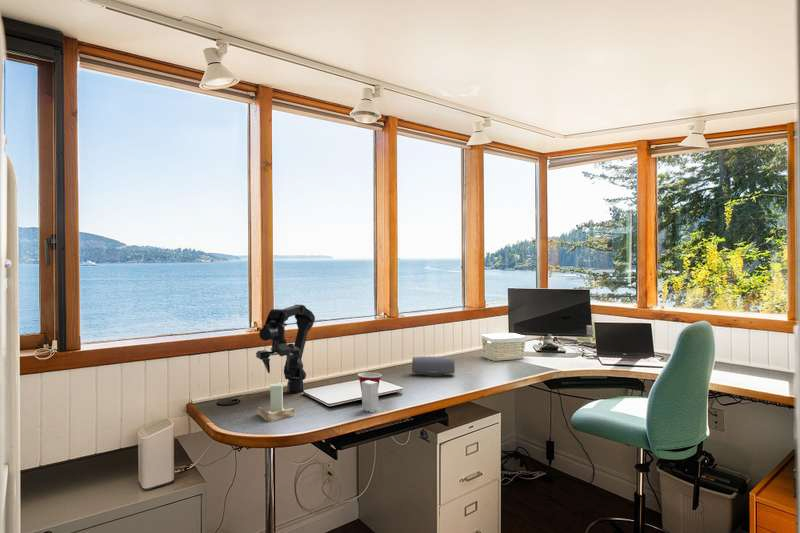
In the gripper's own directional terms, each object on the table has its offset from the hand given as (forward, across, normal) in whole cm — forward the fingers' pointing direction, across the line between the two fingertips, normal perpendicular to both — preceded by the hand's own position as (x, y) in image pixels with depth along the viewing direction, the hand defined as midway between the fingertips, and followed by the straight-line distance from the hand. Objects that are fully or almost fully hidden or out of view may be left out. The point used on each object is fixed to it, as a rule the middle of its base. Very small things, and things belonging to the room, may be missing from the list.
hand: (278, 371), depth 219 cm
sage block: (+13, -9, -18) cm, 24 cm away
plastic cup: (+13, +32, -26) cm, 43 cm away
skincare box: (+13, +24, -38) cm, 47 cm away
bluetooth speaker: (+13, +85, -9) cm, 86 cm away
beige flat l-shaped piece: (+13, -9, -18) cm, 24 cm away
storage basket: (+13, +148, -4) cm, 148 cm away
